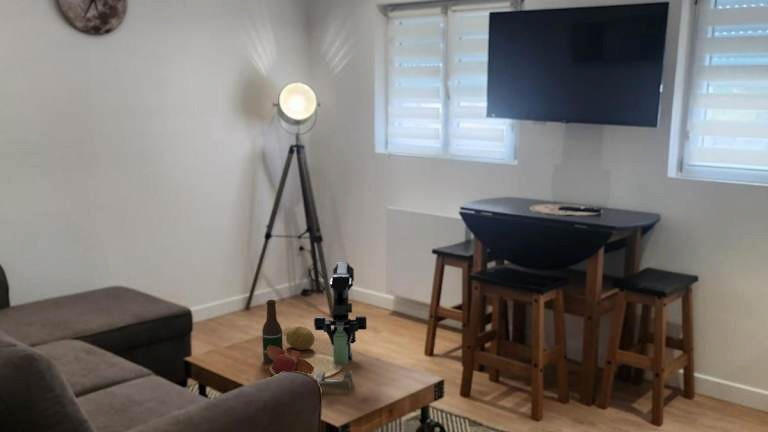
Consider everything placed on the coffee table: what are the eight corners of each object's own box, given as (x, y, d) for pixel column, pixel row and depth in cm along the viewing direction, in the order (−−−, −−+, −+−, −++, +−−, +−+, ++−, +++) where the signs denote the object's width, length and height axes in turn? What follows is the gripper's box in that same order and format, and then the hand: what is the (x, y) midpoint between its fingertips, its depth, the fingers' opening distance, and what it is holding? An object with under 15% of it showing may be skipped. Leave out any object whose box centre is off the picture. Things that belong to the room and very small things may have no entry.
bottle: (337, 359, 258) (336, 319, 255) (350, 360, 256) (349, 320, 253) (331, 364, 253) (330, 323, 250) (344, 365, 251) (343, 325, 248)
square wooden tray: (318, 381, 253) (318, 370, 253) (352, 381, 253) (352, 370, 252) (313, 394, 242) (313, 383, 241) (348, 394, 241) (348, 383, 240)
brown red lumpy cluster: (267, 360, 270) (251, 365, 256) (276, 339, 270) (261, 343, 255) (312, 384, 266) (298, 390, 251) (321, 362, 265) (308, 367, 251)
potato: (299, 320, 295) (281, 323, 289) (320, 328, 286) (302, 332, 280) (297, 343, 296) (279, 346, 290) (318, 351, 287) (301, 355, 281)
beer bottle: (285, 357, 278) (283, 298, 275) (280, 364, 271) (278, 303, 267) (265, 357, 279) (263, 297, 275) (260, 364, 271) (258, 303, 268)
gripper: (313, 295, 254) (312, 335, 245) (366, 294, 254) (366, 334, 245) (315, 310, 263) (314, 349, 254) (366, 309, 263) (366, 348, 254)
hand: (340, 344), depth 252 cm, fingers closed on bottle, 5 cm apart
